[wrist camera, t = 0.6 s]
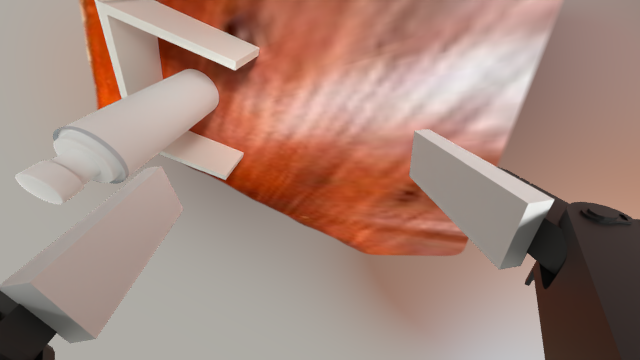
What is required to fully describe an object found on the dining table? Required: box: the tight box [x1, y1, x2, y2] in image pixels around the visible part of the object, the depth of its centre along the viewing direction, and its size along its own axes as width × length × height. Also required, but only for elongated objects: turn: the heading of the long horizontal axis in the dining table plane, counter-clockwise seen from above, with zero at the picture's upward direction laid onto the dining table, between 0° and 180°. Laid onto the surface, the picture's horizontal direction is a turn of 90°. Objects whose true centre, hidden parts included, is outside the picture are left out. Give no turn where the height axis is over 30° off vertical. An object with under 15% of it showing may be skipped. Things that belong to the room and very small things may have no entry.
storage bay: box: [95, 0, 260, 180], centre depth 34 cm, size 20×16×7 cm
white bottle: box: [15, 69, 219, 204], centre depth 27 cm, size 7×7×25 cm
